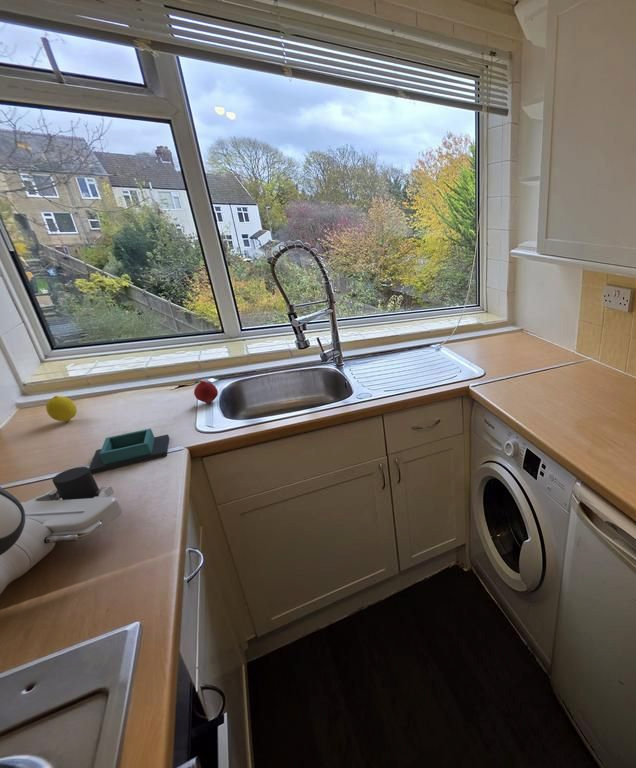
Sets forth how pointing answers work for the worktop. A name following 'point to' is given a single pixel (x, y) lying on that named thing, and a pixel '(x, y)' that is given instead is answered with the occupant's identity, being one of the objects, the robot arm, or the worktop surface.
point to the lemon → (61, 408)
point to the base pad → (129, 450)
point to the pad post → (76, 484)
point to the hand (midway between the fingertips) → (83, 490)
